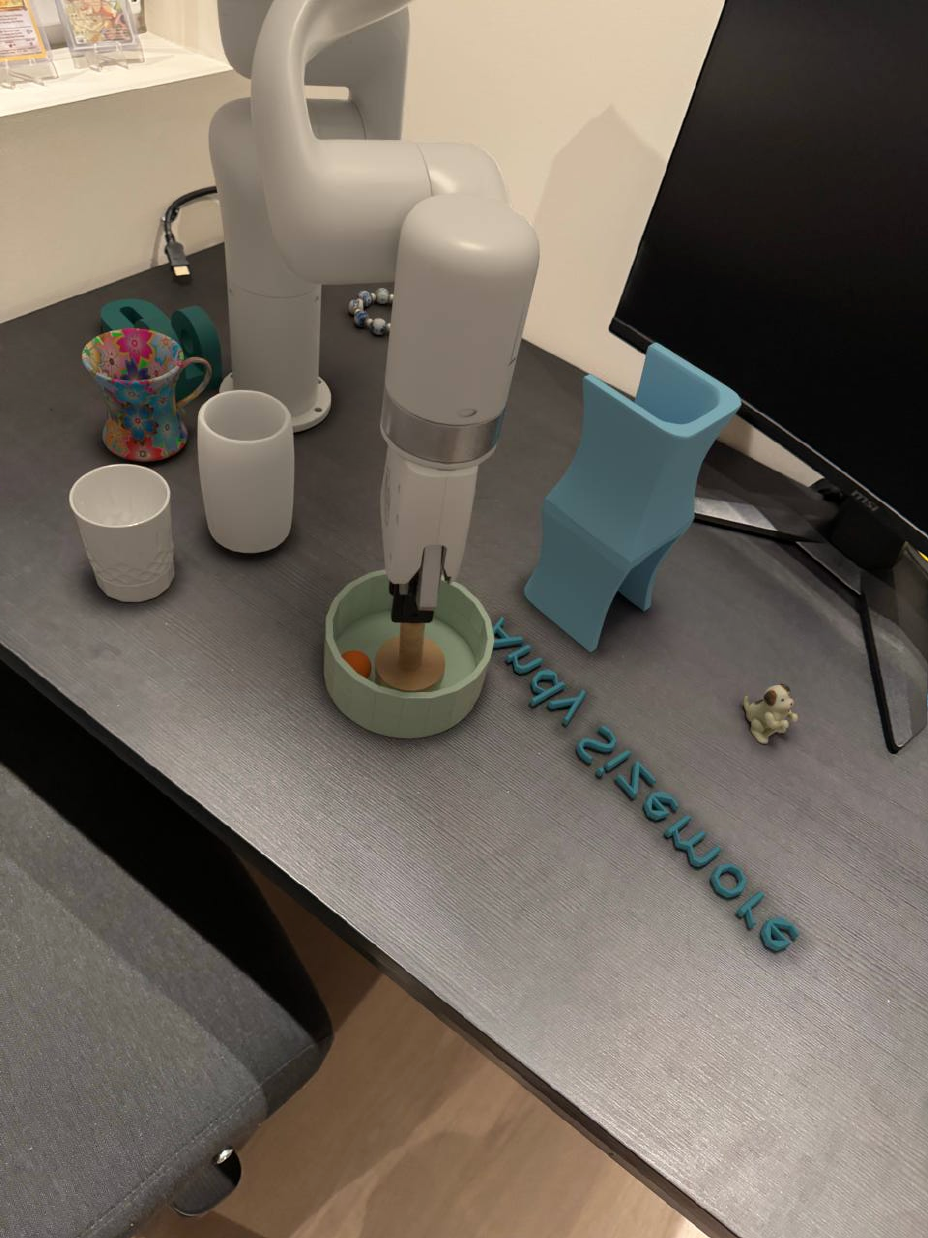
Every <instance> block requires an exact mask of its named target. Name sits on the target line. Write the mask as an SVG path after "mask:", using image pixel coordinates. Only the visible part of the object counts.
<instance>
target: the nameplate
mask: <svg viewBox="0 0 928 1238" xmlns="http://www.w3.org/2000/svg"><path fill="white" fill-rule="evenodd" d="M504 624H505V618H504V617H503V616H501V617H500V619H498V621H497V622H496V623H495V625H493V626H492V629H493V634H494V636H495V635H497V636H498V637H499V638H497V639H494V640H495V641H494V645H493V649H499V648H504V647H505V648H506V647H512V646H513V647H514V646H520V645H521V646H522V645H523V644H525V640H524V638H523V637H522V636H513V637H510V636H509V635H508V634H507V633H506V631H504V630H503V629H502V626H503V625H504ZM531 651H532V646H530V644H527V645H524V646H523V647H521V648H519V649H517V650H515V651H513V652H511V653H510V654H508V655H506V656H505V657H504V659H505V661H506V663H507V664H509V663H511V662H512V664H513V669H514V672H516V673H517V674H518V675H523V674H527V673H529V672H530V671H532V670H534V669H536V668H538V667H539V666H541V665H542V664H543V663H544V660H543V658H542V657H541V656H540V657H537V658H536V659H534V660H532V661H530V662H529V663H527V664H524V665H521V664H519V662H518V659H519V658H521V657H522V656H524V655H526V654H528V653H530V652H531ZM539 681H552V683H553V686H552V687H549V688H548V689H544V688H542V687H540V686H538V682H539ZM530 684H531V689H532V692H534V693H535V694H538V695H536V696H534V697H533V698H531V699H529V705H530V706H531V707H535V706H537V705H538V704H540V703H541V702H543V701H545V700H547V699H549V698H550V697H552V696H553V695H555V694H557V693H558V692H560V691H562V690H563V689H565V688H566V687H567V684H566V683H565V682H564V681H563V680H562V681H561V682H559V680H558V675H557V673H556V672H555V671H552V670H550V669H549V668H548V669H544V670H540V671H538V672H537V673H536V675H534V676H533V678H532V679H531V680H530ZM586 693H587V692H586V691H585V689H581V690H580V691H579V694H578V695H577V696H576V697H575V696H574V697H570V698H562V699H557V700H549V701H548V702H546V705H547V707H548V709H549V710H555V709H561V708H567V707H570V708H569V710H568V711H567V713H566V714H565V716H564V717H563V719H562V724H563V725H564V726H567V725H568V724H569V722H570V721H571V719H572V718H573V716H574V714H575V712H576V711H577V709H578V708H579V706H580V704H581V703H582V701H583V700H584V698H585V697H586V695H587V694H586ZM597 732H598V733H599V734H601V735H602V736H603V737H605V738H607V740H608V741H609V743H604V742H601V741H599V740H596V739H593V738H590V737H585V738H582V739H580V740H579V741H578V743H577V745H576V752H577V754H578V756H579V758H580V759H581V760H582V761H584V762H585V763H586V764H590V763H592V761H594V757H593V756H592V755H590V754H589V753H588V752H586V750H585V749H584V748H585V747H586V748H589V749H592V750H594V751H597V752H601V753H603V754H607V753H610V752H613V751H614V749H615V747H616V745H617V738H616V737H615V735H614V733H613V731H612V730H610V729H609V728H608V727H607V726H605V725H604V724H602V725H601V726H600V727H598V728H597ZM630 757H631V752H630V751H629V749H627V750H625V751H623V752H622V753H620V754H619V755H617V756H616V757H614V758H613V759H611V760H610V761H608V762H607V763H606V764H604V765H603V766H600V767H599V768H598V769H596V770H595V774H596V776H598V777H601V776H603V775H604V774H605V773H606V772H608V771H610V770H611V769H613V768H615V767H616V766H617V765H619V764H620V763H622V762H623V761H625V760H626V759H628V758H630ZM605 771H606V772H605ZM639 775H640V776H641V777H642V778H643V779H644V780H645V781H646V782H647V783H648V784H649V785H650V786H653V785H655V784H656V783H657V779H656V778H655V777H654V776H653V775H652V774H651V773H650V772H649V771H648V769H647V768H646V767H645V766H644V765H643V764H642V763H641V762H640V761H639V760H637V761H635V762H634V763H633V764H632V774H631V785H630V783H628V781H627V780H626V779H625V778H624V777H623V775H621V774H618V775H617V776H615V777H614V780H615V782H616V783H617V784H618V785H619V786H620V787H621V789H622V790H623V791H624V792H625V793H626V794H627V795H628V796H629V798H630V799H632V800H633V799H635V798H636V797H637V796H638V787H639ZM662 803H663V804H668V805H669V806H670V807H671V809H672V811H673V812H675V811H677V810H679V808H680V804H679V803H678V802H677V800H676V799H675V797H673V796H672V795H670V794H668V793H667V792H664V791H663V790H661V791H657V792H653V793H649V794H648V796H647V797H646V799H645V801H644V802H643V809H644V811H645V814H646V816H647V818H650V819H652V820H654V821H659V820H662V819H665V818H667V817H669V816H670V815H671V813H670V812H669V811H668V809H667V808H666V807H665V806H664V805H663V804H662ZM652 808H654V809H655V810H653V809H652ZM691 816H692V815H690V814H689V813H688V814H685V815H684V816H683V817H681V818H680V819H679V820H677V821H676V822H675V823H674V824H672V825H671V826H670V827H668V828H667V829H666V830H664V831H663V833H664V835H665V837H666V838H670V837H671V836H672V839H673V842H674V846H675V848H677V849H679V850H683V851H686V852H687V856H688V860H689V863H690V865H692V866H694V867H695V868H699V867H702V866H705V865H707V864H708V863H710V862H711V861H712V860H713V859H714V858H715V857H717V856H718V855H719V854H720V853H722V848H721V847H720V846H719V845H715V846H714V847H713V848H712V849H710V850H709V851H708V852H707V853H706V854H704V855H703V856H702V857H701V856H696V854H695V851H694V846H695V845H696V844H697V843H699V842H700V841H701V840H703V839H704V838H705V837H706V836H707V832H706V830H704V829H701V830H699V831H698V832H697V833H695V834H694V835H693V836H692V837H691V838H689V839H688V840H681V838H680V835H679V830H680V829H682V828H683V827H684V826H686V825H687V824H688V823H690V822H691V821H692V817H691ZM725 872H729V873H731V874H733V875H735V877H736V879H737V884H736V886H735V887H734V888H731V889H729V888H727V887H725V886H723V885H722V884H721V881H720V877H721V875H722V873H725ZM710 882H711V884H712V886H713V888H714V891H715V892H716V893H718V895H721V896H723V897H725V898H726V899H729V898H733V897H736V896H739V895H742V893H743V891H744V889H745V886H746V884H747V879H746V876H745V874H744V872H743V870H742V869H741V868H740V867H738V866H737V865H734V863H731V862H728V863H725V864H721V865H717V866H716V867H715V869H714V871H713V872H712V874H711V877H710ZM763 898H765V894H764V893H763V891H761V890H758V891H757V892H756V893H755V894H754V895H752V896H751V897H750V898H749V899H748V900H747V901H745V903H744V904H742V905H741V906H740V907H739V908H738V909H736V912H735V913H736V914H737V916H738V917H741V918H742V917H743V916H745V920H746V924H747V927H748V928H749V929H752V928H753V927H754V926H755V925H757V921H756V920H755V919H754V916H753V911H752V909H753V908H754V907H755V906H756V905H757V904H758V903H759V902H761V900H762V899H763ZM779 929H780V930H784V931H787V932H788V934H789V935H790V937H791V938H792V939H793V940H796V939H797V938H798V937H799V936H800V932H799V930H798V929H797V928H796V926H795V925H794V924H793V923H792V922H790V921H788V920H787V919H785V918H783V917H782V916H778V917H773V918H770V919H766V920H765V922H764V925H763V927H762V928H761V931H760V937H761V939H762V941H763V944H764V945H765V947H767V948H769V949H771V950H773V951H775V952H777V951H780V950H782V949H786V948H787V947H789V946H790V945H791V941H790V940H789V939H788V938H787V937H786V936H785V935H784V934H783V932H781V931H780V930H779ZM772 937H773V938H774V939H775V940H774V939H773V940H772Z"/></svg>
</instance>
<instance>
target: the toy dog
mask: <svg viewBox="0 0 928 1238" xmlns="http://www.w3.org/2000/svg"><path fill="white" fill-rule="evenodd" d="M742 703H743V708H744V710H745V712H746V715H745V716H746V718H747V720H748V721H749V722H750V723H751V724H750V725H751V726H750V732H751V734H752V735H753V737H754V738H755V740H756V741H757V742H758V743H760V744H762V745H767V744H768V743H769V737H770V736H772V735H773V734H776V733H778V734H785V733H786V731H787V729H788V728H789V726H790V725H789V724H790V723H789V721H788V720H787V719H791V721H792V723H797V722H798V720H799V716H798V714H797V713H794V712H792V708H793V706H794V704H795V703H794V699H793V697H792V693H791V688H790V687H789V686H788V685H787V684H786V683H779V684H774V685H771V686H769V687H768V688H767V689H766V690H765V692H764V694H763V699H759V700H757V701H754V702H752V703H751V704H750V702H749V696H748V695H745V696H744V697H743V702H742ZM786 718H787V719H786Z"/></svg>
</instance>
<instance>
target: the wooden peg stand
mask: <svg viewBox="0 0 928 1238" xmlns="http://www.w3.org/2000/svg"><path fill="white" fill-rule="evenodd" d="M412 578H419V573H415V575H414V576H413V577H412ZM424 631H425V623H400V636H396V637H394V638H392V639H390V640H388V641H386V642H385V643H384V644H383V645H382V646H381V647H380V648H379V650H378V652H377V654H376V657H375V674H376V678H377V680H378V682H379V684H380V685H381V686H382V687H386V688H390V689H394V690H397V691H401V692H433V691H435V690H436V689H437V688H438V687H439V685H440V684H441V682H442V680H443V678H444V673H445V657H444V654H443V652H442V650H441V649H440V648H439V646H438V645H437V644H435V643H434V642H433V641H431V640H430V639H428V638H425V637H424Z"/></svg>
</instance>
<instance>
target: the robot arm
mask: <svg viewBox="0 0 928 1238" xmlns="http://www.w3.org/2000/svg"><path fill="white" fill-rule="evenodd" d="M415 1H416V0H216V7H217V19H218V26H219V28H218V29H219V34H220V40H221V45H222V49H223V52H224V56H225V58H226V60H227V61H228V64H229V66H230V67H231V68H232V69H233V70H234V71H235V72H236V73H237V74H238V75H240V76H242V77H243V78H245V79H247V80H250V96H247V97H241V98H236V99H233V100H230V101H228V102H226V103H224V104H223V105H221V106H220V107H219V108H217V110H216V111H215V112H214V113H213V115H212V118H211V120H210V122H209V125H208V133H207V134H208V136H207V137H208V139H207V140H208V152H209V159H210V163H211V168H212V173H213V178H214V182H215V188H216V192H217V197H218V202H219V208H220V214H221V221H222V222H221V223H222V230H223V232H222V233H223V241H224V256H225V270H226V271H225V272H226V285H227V286H226V287H227V303H228V306H227V307H228V321H229V322H228V323H229V337H230V338H229V339H230V357H231V359H230V360H231V372H230V373H229V374H228V375H227V376H225V378H223V382H222V383H221V385H220V386H219V389H218V394H220V393H223V392H227V391H234V390H252V391H258V392H263V393H265V394H268V395H270V396H272V397H274V398H276V399H277V400H279V401H280V402H281V403H282V404H283V405H284V406H285V407H286V408H287V409H288V411H289V412H290V414H291V420H292V429H293V434H294V433H299V432H303V431H306V430H309V429H311V428H313V427H315V426H317V425H319V424H320V423H321V422H323V420H324V419H326V417H327V416H328V414H329V412H330V410H331V406H332V405H331V404H332V394H331V390H330V387H329V386H328V385H327V383H326V382H325V380H323V378H321V377H320V376H319V371H320V369H319V368H320V343H321V341H320V337H321V311H322V307H321V305H322V286H344V285H346V286H348V285H363V284H365V285H366V284H382V283H394V287H393V295H394V296H393V301H392V306H391V315H390V316H391V317H390V331H389V334H388V344H387V352H386V353H387V355H386V363H385V373H384V384H383V395H382V404H381V413H380V423H379V428H380V429H379V430H380V433H381V436H382V438H383V441H384V442H385V443H386V445H387V448H386V449H387V450H386V456H385V463H384V468H383V475H382V480H381V487H380V494H379V495H380V497H379V498H380V499H379V507H380V523H381V524H380V525H381V536H382V548H383V549H382V550H383V559H384V569H385V570H386V575H387V577H388V579H389V580H390V581H389V593H390V594H391V595H392V596H394V597H393V603H392V610H391V620H392V622H394V623H430V622H431V621H432V620H433V615H434V610H435V611H436V608H437V599H438V591H439V585H440V580H441V575H443V576H444V581H445V582H447V584H448V585H450V584H451V583H453V582H454V581H455V582H456V580H457V578H458V575H459V573H460V570H461V566H462V564H463V563H462V562H463V558H464V554H465V549H466V543H467V539H468V535H469V528H470V523H471V517H472V512H473V506H474V499H475V495H476V486H477V480H478V474H479V473H478V472H479V465H481V464H482V463H484V462H485V461H486V460H488V459H489V458H490V457H491V456H492V455H493V454H494V452H495V451H496V448H497V445H498V442H499V437H500V432H501V428H502V423H503V420H504V415H505V411H506V408H507V402H508V398H509V394H510V389H511V385H512V380H513V375H514V373H515V367H516V364H517V360H518V354H519V351H520V347H521V342H522V338H523V333H524V330H525V325H526V322H527V316H528V313H529V309H530V304H531V300H532V295H533V292H534V288H535V283H536V279H537V275H538V271H539V265H540V259H541V258H540V257H541V253H540V252H541V248H540V247H541V246H540V241H539V238H538V234H537V232H536V230H535V227H533V225H532V224H531V223H530V221H529V220H528V219H527V218H526V217H525V216H524V215H523V214H522V213H521V212H519V211H518V210H517V209H515V208H514V205H513V203H512V200H511V197H510V191H509V186H508V183H507V182H506V180H505V178H504V176H503V173H502V170H501V168H500V166H499V164H498V163H497V161H496V159H495V158H494V157H493V155H492V154H490V153H489V152H488V151H487V150H486V149H484V148H482V147H481V146H478V145H475V144H473V143H468V142H462V141H439V140H437V141H436V140H435V141H433V140H432V141H431V140H430V141H426V140H425V141H424V140H411V139H409V140H408V139H407V140H405V139H403V136H404V126H405V125H404V123H405V111H406V101H407V90H408V89H407V88H408V75H409V63H410V46H411V45H410V43H411V27H410V26H411V23H410V12H409V5H411V4H412V3H413V2H415ZM305 86H307V87H308V86H310V87H333V88H334V87H335V88H347V90H348V96H347V99H344V98H343V99H342V98H309V97H306V88H305ZM415 573H419V578H412V577H413V576H414V575H415Z"/></svg>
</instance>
